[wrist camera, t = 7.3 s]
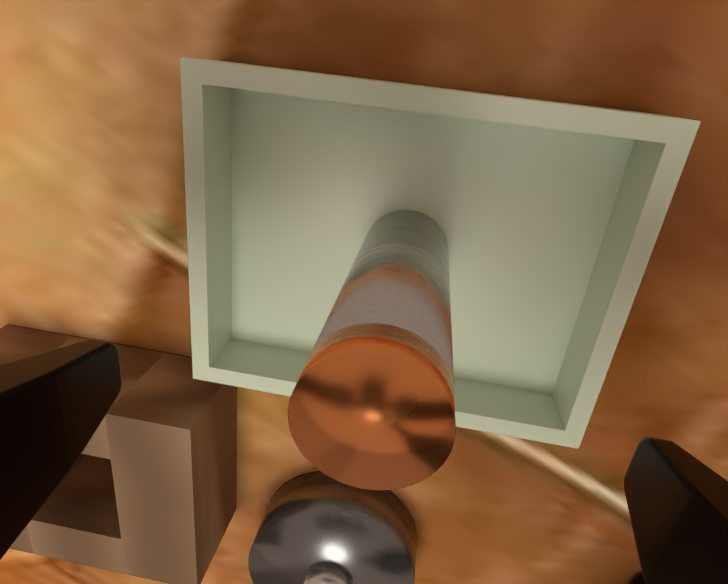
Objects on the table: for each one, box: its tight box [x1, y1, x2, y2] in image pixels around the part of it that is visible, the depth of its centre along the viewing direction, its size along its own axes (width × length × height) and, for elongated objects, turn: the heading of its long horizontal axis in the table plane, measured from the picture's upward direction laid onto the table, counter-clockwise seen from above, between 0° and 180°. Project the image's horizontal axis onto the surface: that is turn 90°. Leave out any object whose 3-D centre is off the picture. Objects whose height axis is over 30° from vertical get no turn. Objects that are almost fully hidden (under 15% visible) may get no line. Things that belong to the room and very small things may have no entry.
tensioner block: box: [0, 325, 236, 584], centre depth 20 cm, size 10×8×4 cm
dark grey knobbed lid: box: [248, 472, 417, 584], centre depth 21 cm, size 7×7×3 cm
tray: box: [180, 57, 701, 449], centre depth 16 cm, size 13×10×2 cm
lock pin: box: [288, 210, 456, 490], centre depth 12 cm, size 3×3×9 cm
